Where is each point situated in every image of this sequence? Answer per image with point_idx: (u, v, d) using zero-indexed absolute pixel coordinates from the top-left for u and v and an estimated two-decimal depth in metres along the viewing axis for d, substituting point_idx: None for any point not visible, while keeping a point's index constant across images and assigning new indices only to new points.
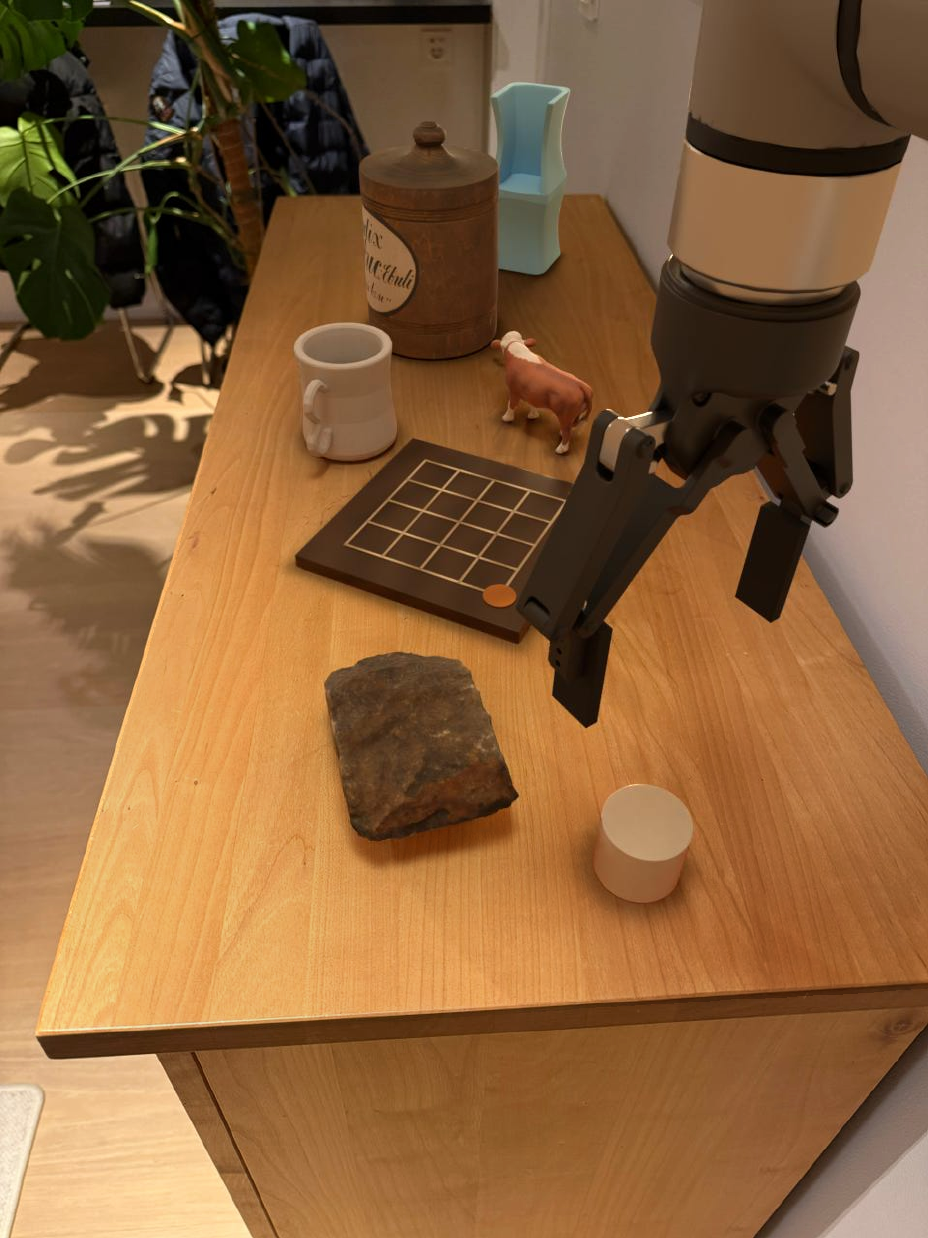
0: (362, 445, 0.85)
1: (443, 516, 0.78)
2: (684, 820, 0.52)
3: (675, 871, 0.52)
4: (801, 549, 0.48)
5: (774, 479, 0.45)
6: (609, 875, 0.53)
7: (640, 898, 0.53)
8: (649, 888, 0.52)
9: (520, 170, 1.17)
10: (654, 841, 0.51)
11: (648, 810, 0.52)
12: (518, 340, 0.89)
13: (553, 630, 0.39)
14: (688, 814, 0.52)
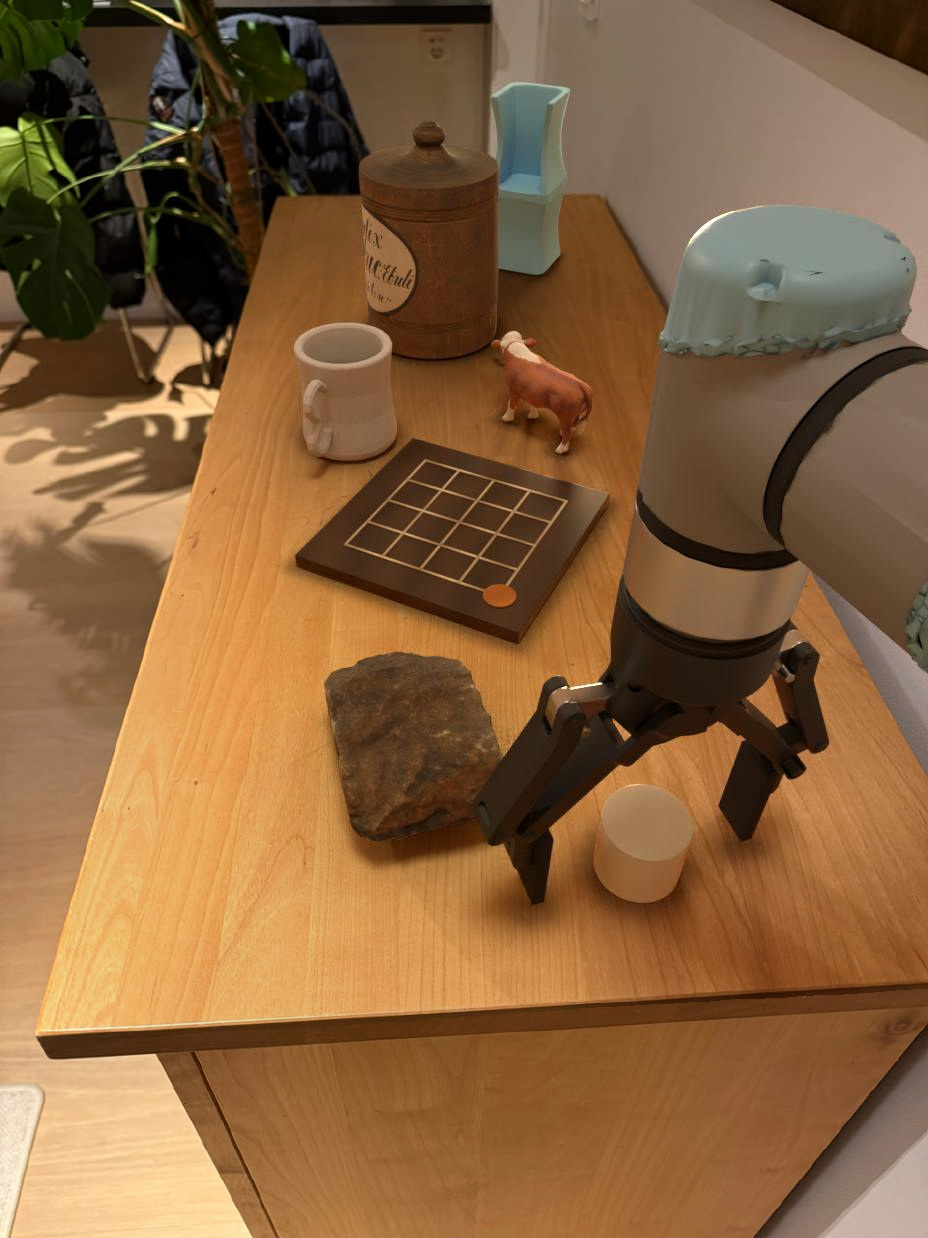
0: (362, 445, 0.85)
1: (443, 516, 0.78)
2: (684, 820, 0.52)
3: (675, 871, 0.52)
4: (770, 790, 0.52)
5: None
6: (609, 875, 0.53)
7: (640, 898, 0.53)
8: (649, 888, 0.52)
9: (520, 170, 1.17)
10: (654, 841, 0.51)
11: (648, 810, 0.52)
12: (518, 340, 0.89)
13: (490, 837, 0.46)
14: (688, 814, 0.52)
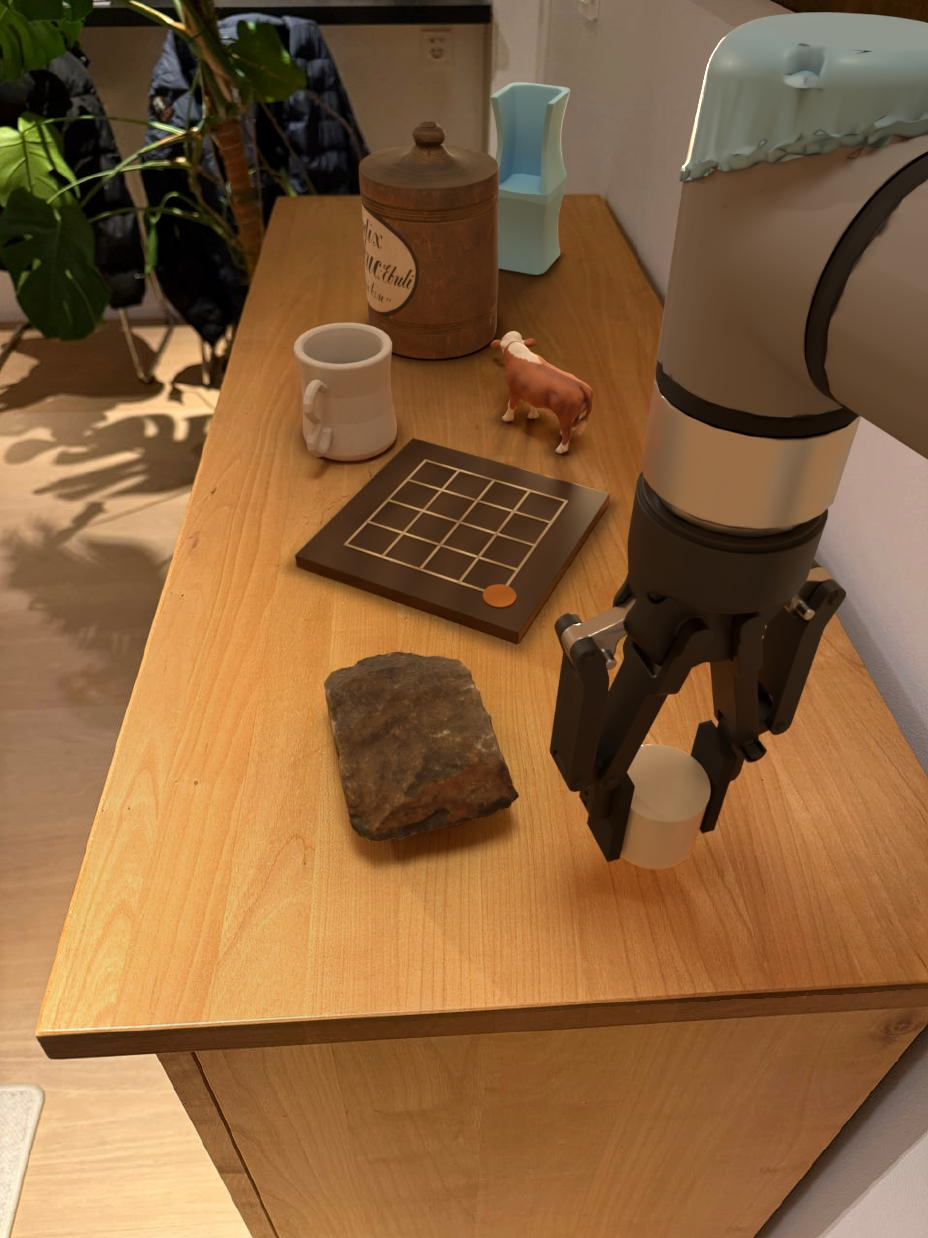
0: (362, 445, 0.85)
1: (443, 516, 0.78)
2: (701, 780, 0.49)
3: (691, 834, 0.49)
4: (729, 775, 0.48)
5: (721, 691, 0.46)
6: None
7: (654, 864, 0.50)
8: (664, 853, 0.49)
9: (520, 170, 1.17)
10: (669, 801, 0.48)
11: (662, 770, 0.49)
12: (518, 340, 0.89)
13: (569, 784, 0.44)
14: (705, 774, 0.49)
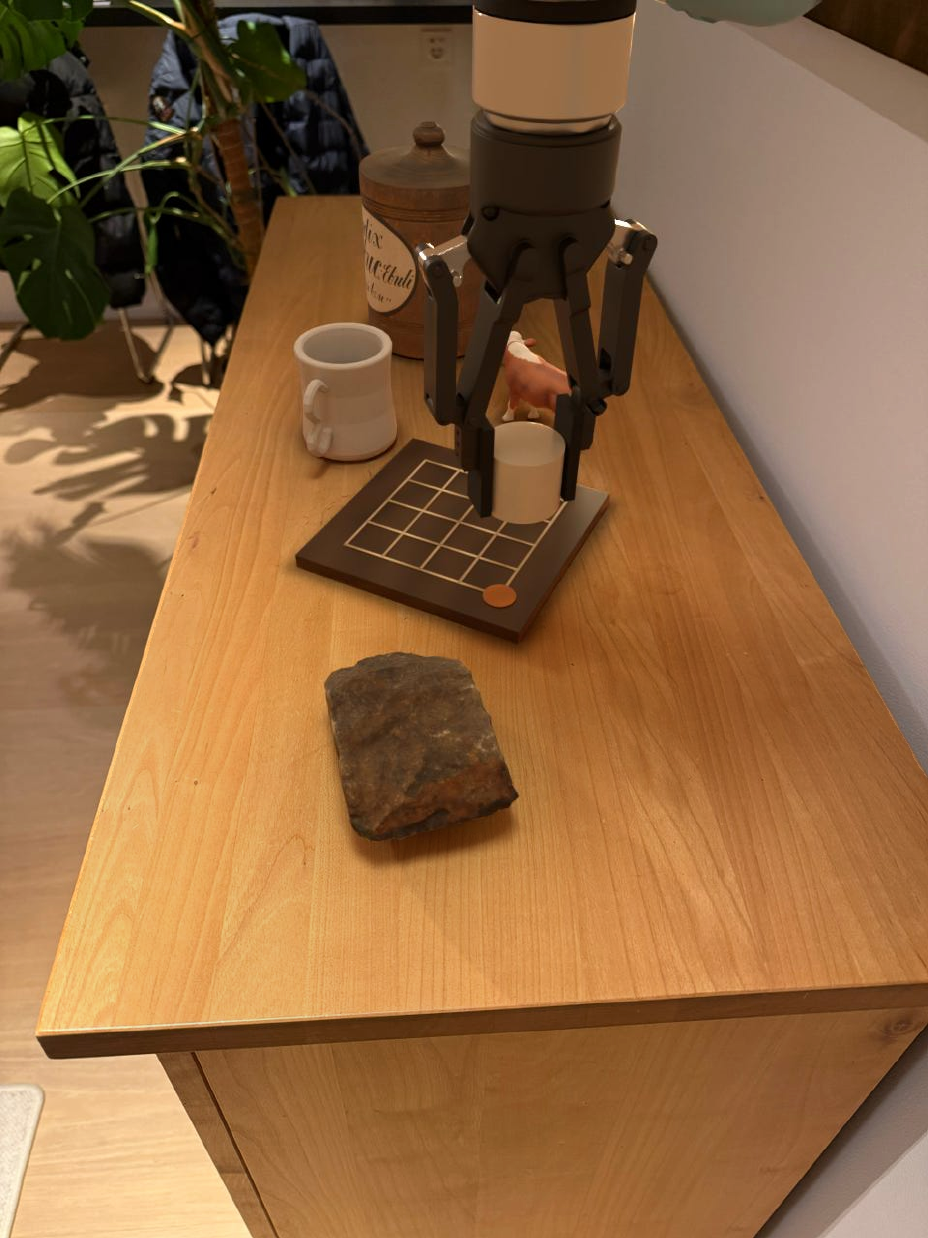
0: (362, 445, 0.85)
1: (443, 516, 0.78)
2: (558, 442, 0.58)
3: (549, 487, 0.58)
4: (580, 435, 0.57)
5: (567, 349, 0.55)
6: (492, 496, 0.59)
7: (520, 517, 0.59)
8: (526, 503, 0.58)
9: None
10: (529, 454, 0.57)
11: (526, 436, 0.58)
12: (518, 340, 0.89)
13: (436, 416, 0.53)
14: (562, 439, 0.58)
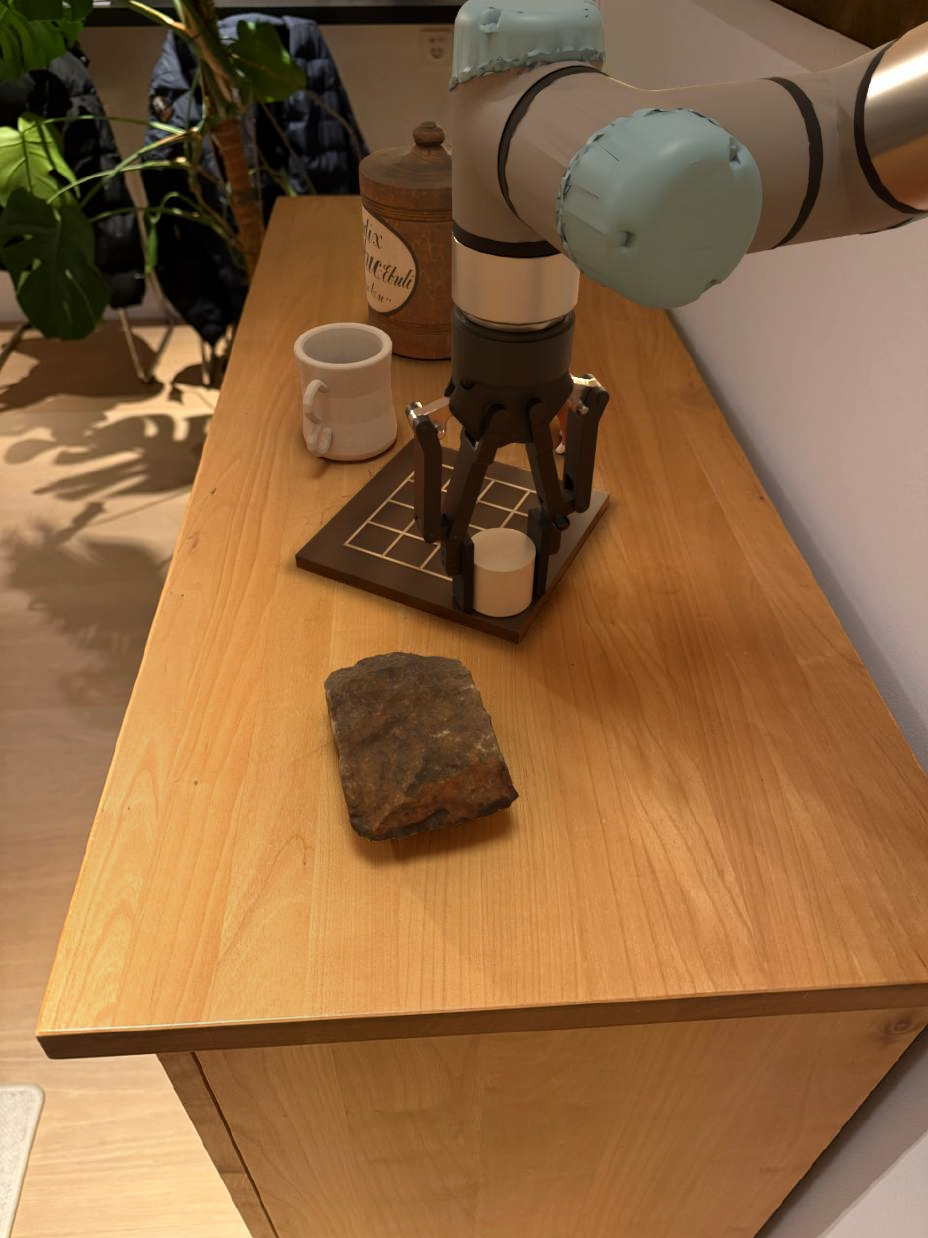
0: (362, 445, 0.85)
1: None
2: (529, 548, 0.68)
3: (522, 586, 0.67)
4: (548, 544, 0.67)
5: (536, 476, 0.64)
6: (473, 593, 0.68)
7: (497, 611, 0.68)
8: (502, 601, 0.68)
9: None
10: (504, 560, 0.67)
11: (503, 542, 0.68)
12: None
13: (424, 536, 0.63)
14: (533, 545, 0.68)
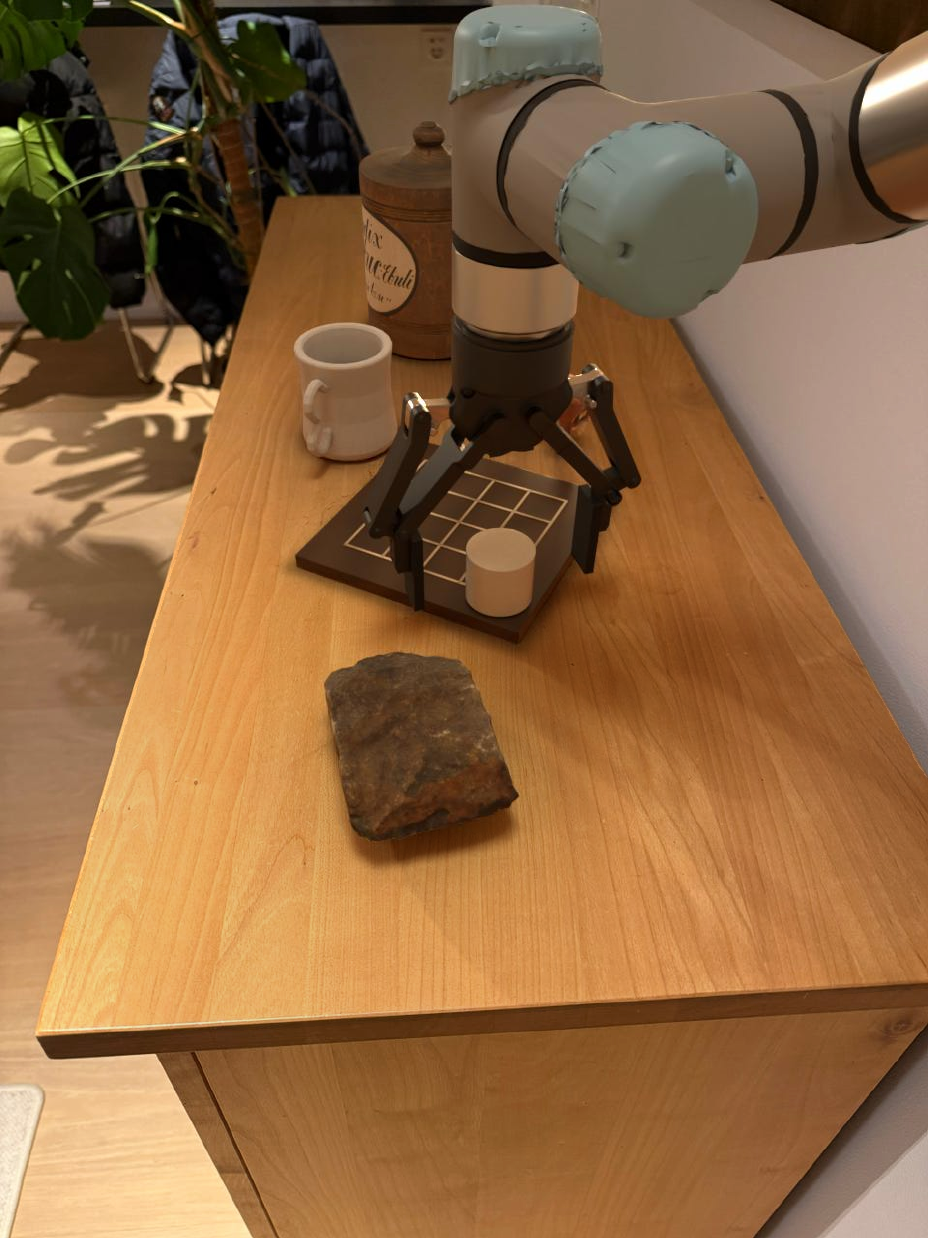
0: (362, 445, 0.85)
1: (443, 516, 0.78)
2: (529, 548, 0.68)
3: (522, 586, 0.67)
4: (599, 520, 0.67)
5: None
6: (473, 593, 0.68)
7: (497, 611, 0.68)
8: (502, 601, 0.68)
9: None
10: (504, 560, 0.67)
11: (503, 542, 0.68)
12: None
13: (371, 528, 0.61)
14: (533, 545, 0.68)
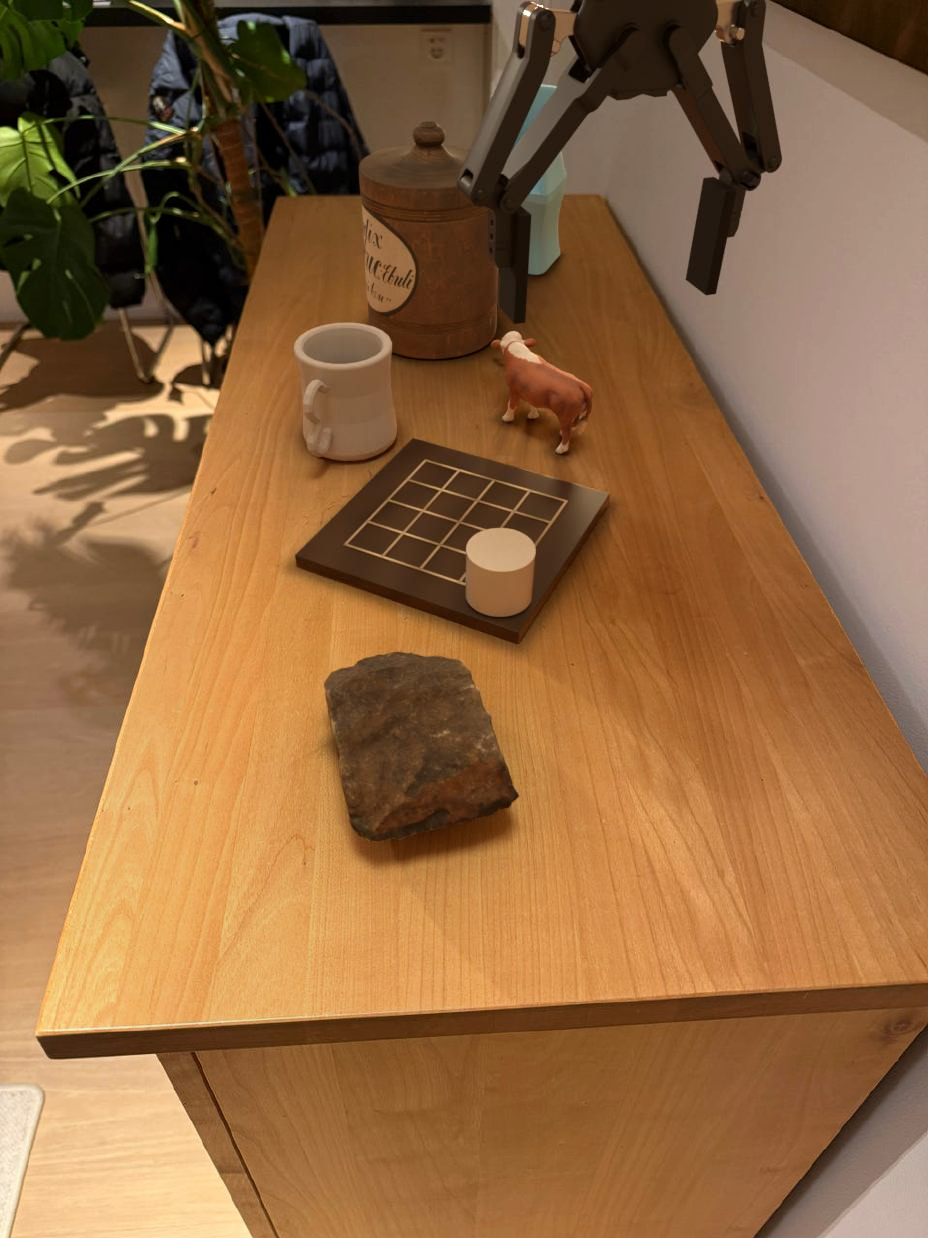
0: (362, 445, 0.85)
1: (443, 516, 0.78)
2: (529, 548, 0.68)
3: (522, 586, 0.67)
4: (730, 215, 0.57)
5: (703, 136, 0.54)
6: (473, 593, 0.68)
7: (497, 611, 0.68)
8: (502, 601, 0.68)
9: None
10: (504, 560, 0.67)
11: (503, 542, 0.68)
12: (518, 340, 0.89)
13: (473, 189, 0.50)
14: (533, 545, 0.68)
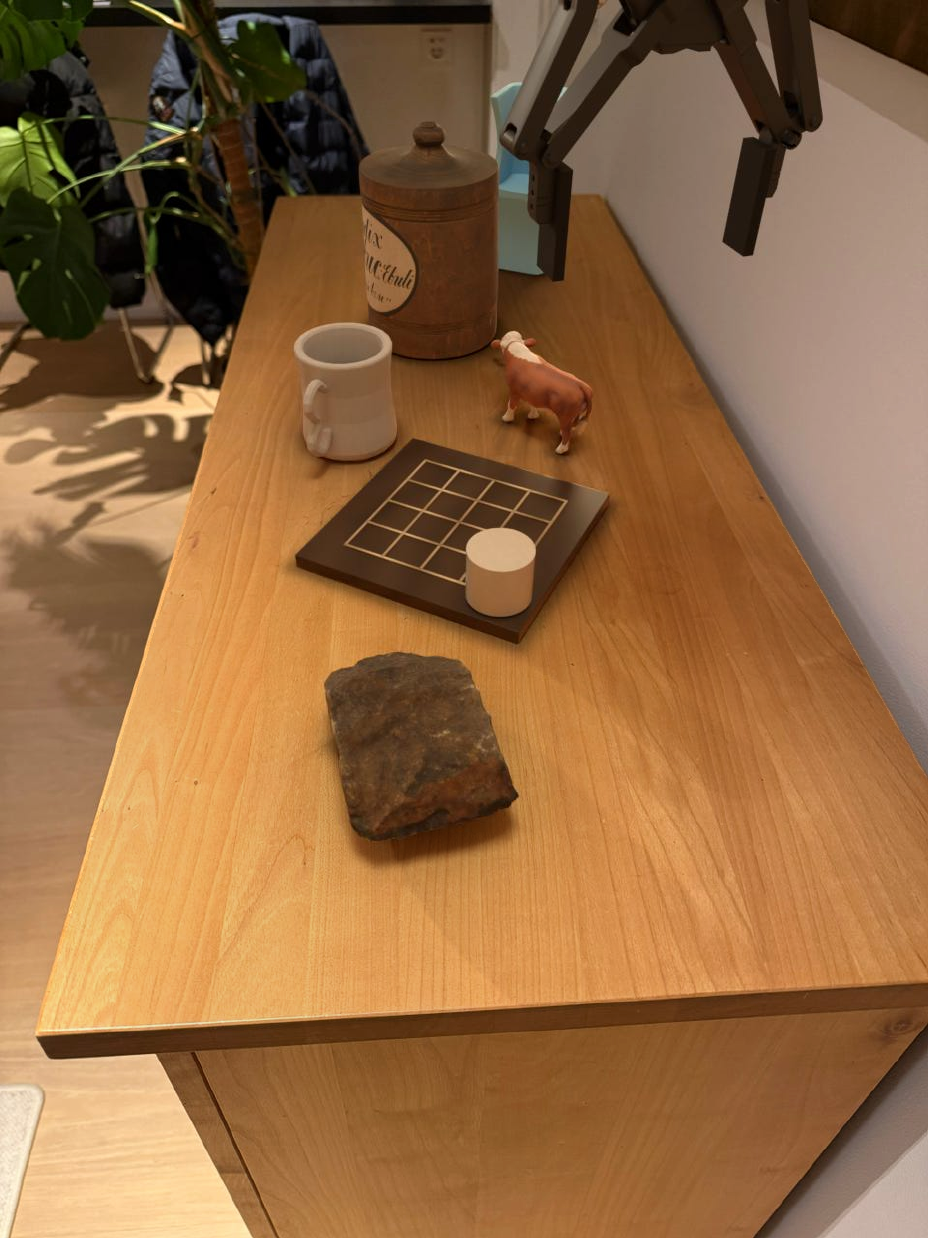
0: (362, 445, 0.85)
1: (443, 516, 0.78)
2: (529, 548, 0.68)
3: (522, 586, 0.67)
4: (769, 175, 0.57)
5: (745, 93, 0.55)
6: (473, 593, 0.68)
7: (497, 611, 0.68)
8: (502, 601, 0.68)
9: (520, 170, 1.17)
10: (504, 560, 0.67)
11: (503, 542, 0.68)
12: (518, 340, 0.89)
13: (517, 142, 0.51)
14: (533, 545, 0.68)
